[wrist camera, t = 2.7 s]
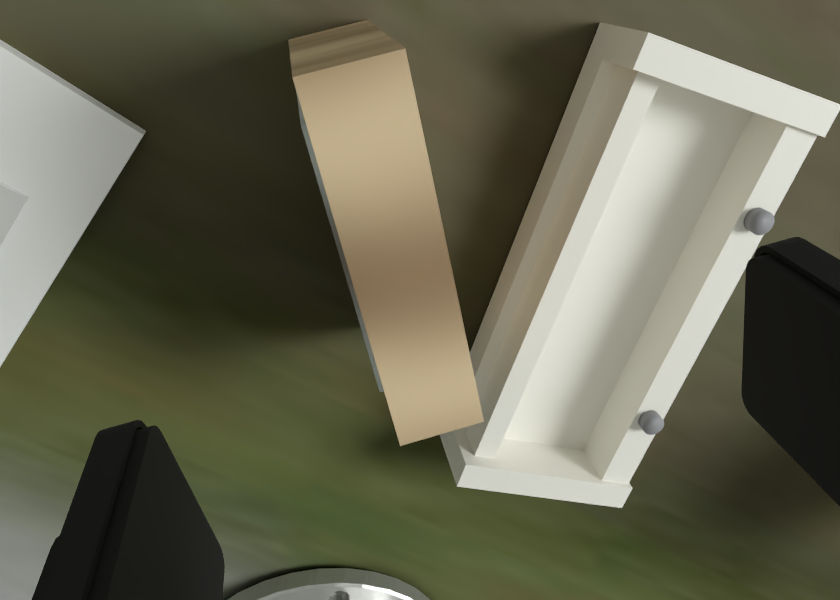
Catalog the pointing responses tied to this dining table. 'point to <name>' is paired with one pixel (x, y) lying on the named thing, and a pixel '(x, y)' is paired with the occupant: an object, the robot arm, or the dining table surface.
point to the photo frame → (48, 179)
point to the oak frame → (386, 223)
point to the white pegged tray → (625, 262)
